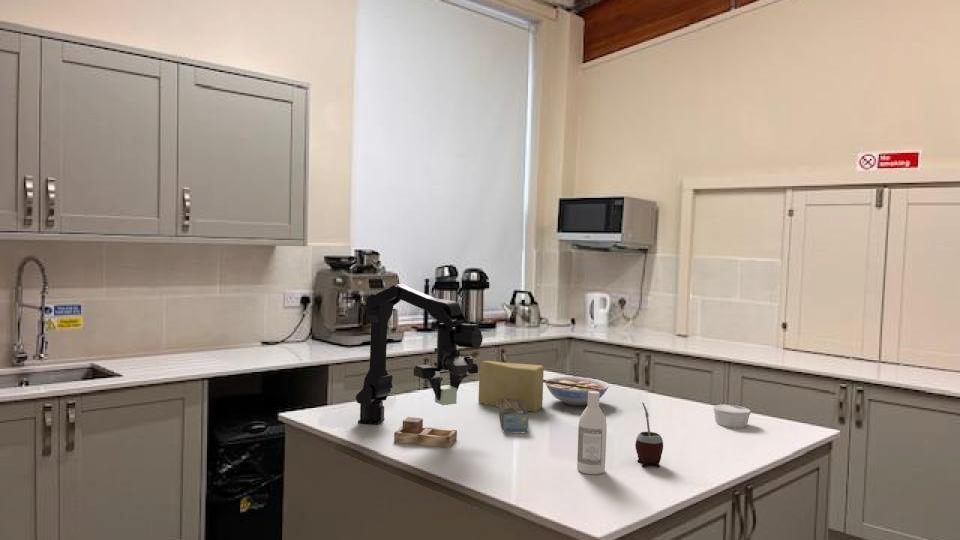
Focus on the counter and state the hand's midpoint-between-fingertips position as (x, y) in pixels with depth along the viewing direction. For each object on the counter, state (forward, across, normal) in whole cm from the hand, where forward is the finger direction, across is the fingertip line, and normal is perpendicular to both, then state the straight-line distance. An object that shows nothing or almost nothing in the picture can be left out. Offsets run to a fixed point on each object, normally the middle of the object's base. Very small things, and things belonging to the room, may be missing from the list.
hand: (445, 399), depth 199 cm
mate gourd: (+12, +34, -46) cm, 58 cm away
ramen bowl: (+12, +63, +13) cm, 65 cm away
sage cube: (+1, 0, 0) cm, 1 cm away
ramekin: (+12, +89, -32) cm, 95 cm away
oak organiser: (+11, -6, 0) cm, 13 cm away
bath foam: (+12, +17, -42) cm, 47 cm away
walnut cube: (+10, -9, +3) cm, 14 cm away
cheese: (+12, +39, +21) cm, 46 cm away
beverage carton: (+12, +26, +2) cm, 29 cm away
